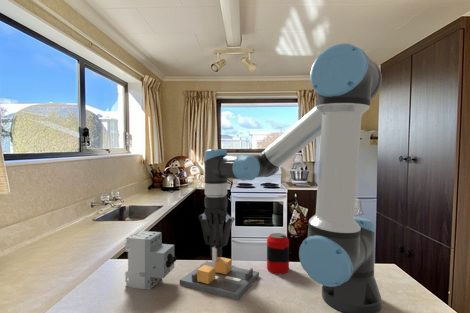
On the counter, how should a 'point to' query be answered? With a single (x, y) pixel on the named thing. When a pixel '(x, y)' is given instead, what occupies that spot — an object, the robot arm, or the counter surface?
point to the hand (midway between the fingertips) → (216, 265)
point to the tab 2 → (223, 265)
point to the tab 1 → (206, 274)
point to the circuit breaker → (147, 259)
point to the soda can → (278, 253)
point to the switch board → (223, 282)
